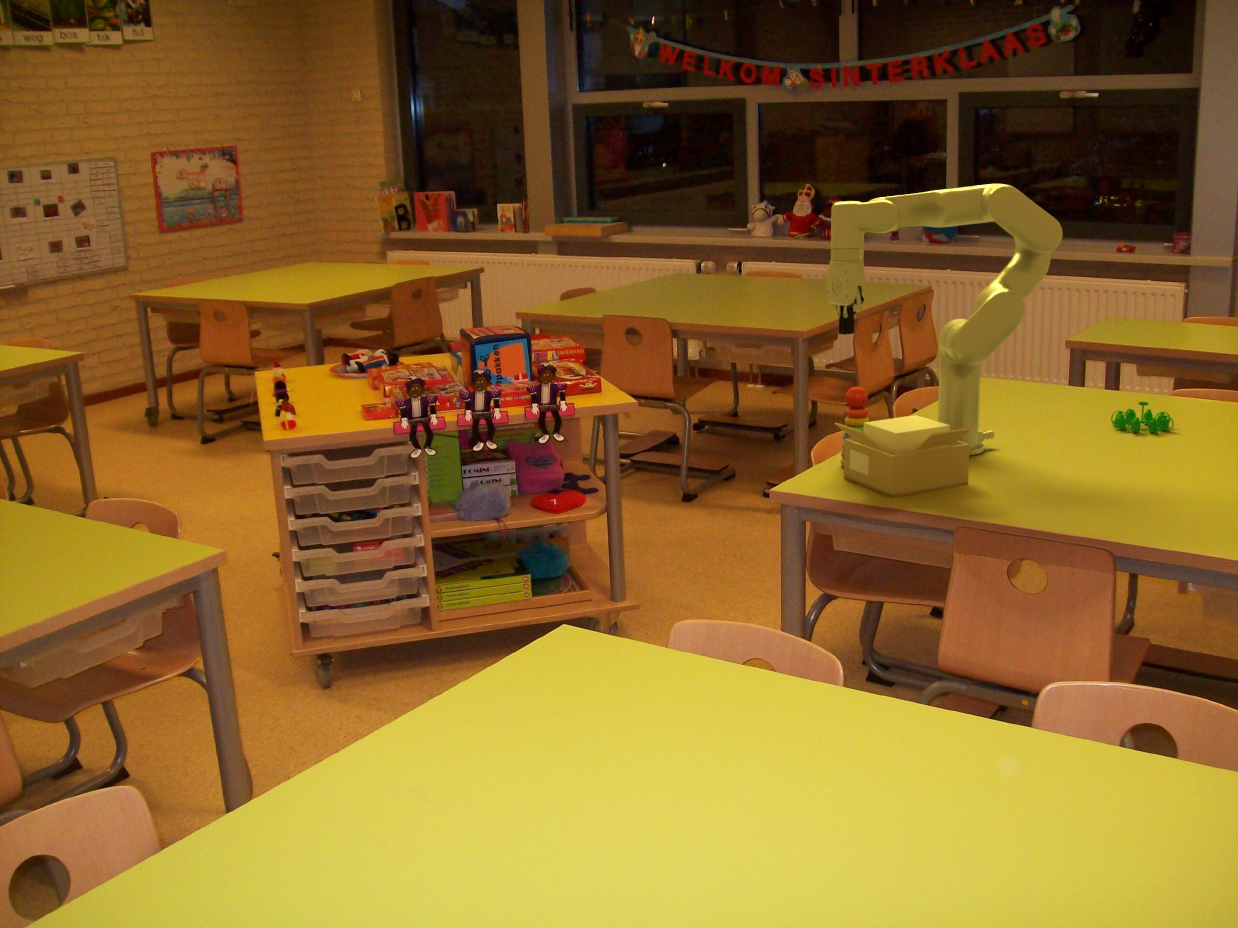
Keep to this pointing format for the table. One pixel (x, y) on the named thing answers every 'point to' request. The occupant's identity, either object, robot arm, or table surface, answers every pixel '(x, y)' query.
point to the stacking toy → (855, 412)
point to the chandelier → (1142, 420)
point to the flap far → (858, 435)
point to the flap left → (943, 438)
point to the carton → (905, 458)
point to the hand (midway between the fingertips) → (846, 333)
